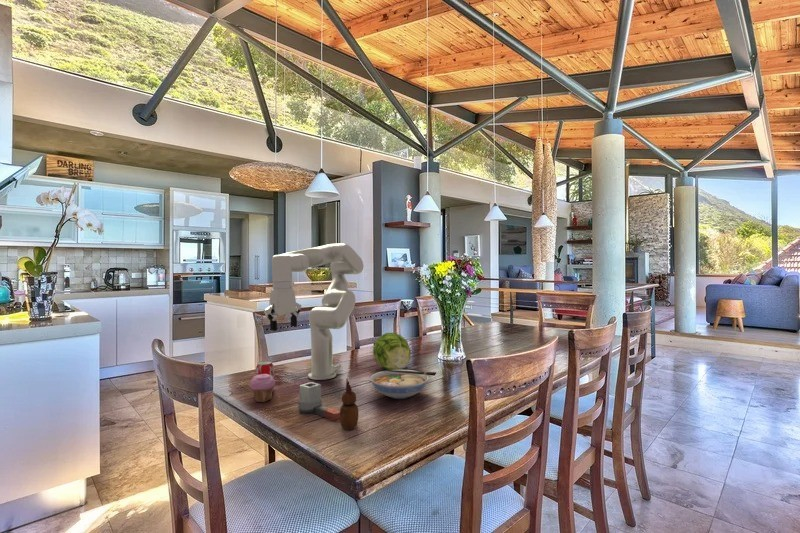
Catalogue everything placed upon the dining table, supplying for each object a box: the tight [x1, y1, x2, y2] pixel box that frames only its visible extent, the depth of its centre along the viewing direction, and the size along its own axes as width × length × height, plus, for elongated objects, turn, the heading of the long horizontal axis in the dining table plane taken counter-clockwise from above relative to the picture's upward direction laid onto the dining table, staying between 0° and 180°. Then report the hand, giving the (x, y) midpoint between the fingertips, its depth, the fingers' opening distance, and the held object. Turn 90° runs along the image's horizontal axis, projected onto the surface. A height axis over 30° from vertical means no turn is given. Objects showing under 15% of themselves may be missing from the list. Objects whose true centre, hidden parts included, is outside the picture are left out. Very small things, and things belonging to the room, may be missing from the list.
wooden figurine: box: [339, 378, 359, 431], centre depth 129 cm, size 7×6×15 cm
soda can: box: [255, 360, 275, 392], centre depth 164 cm, size 7×7×12 cm
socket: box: [299, 381, 322, 405], centre depth 144 cm, size 5×5×6 cm
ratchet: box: [298, 399, 340, 422], centre depth 141 cm, size 8×19×8 cm, turn 50°
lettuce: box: [373, 332, 412, 370], centre depth 197 cm, size 17×23×17 cm
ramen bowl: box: [369, 368, 437, 400], centre depth 158 cm, size 25×23×8 cm
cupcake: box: [249, 374, 276, 403], centre depth 155 cm, size 9×9×10 cm
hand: (284, 328), depth 164 cm, fingers open, 9 cm apart
